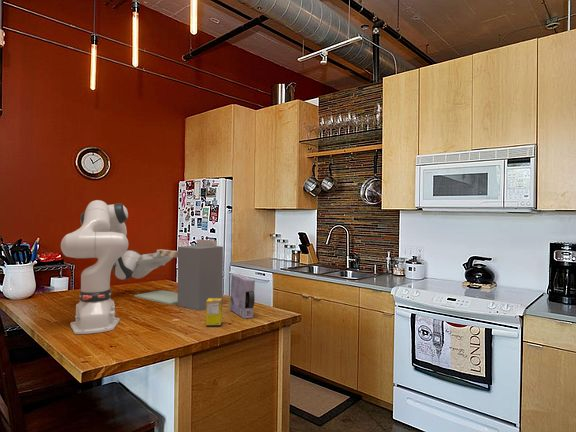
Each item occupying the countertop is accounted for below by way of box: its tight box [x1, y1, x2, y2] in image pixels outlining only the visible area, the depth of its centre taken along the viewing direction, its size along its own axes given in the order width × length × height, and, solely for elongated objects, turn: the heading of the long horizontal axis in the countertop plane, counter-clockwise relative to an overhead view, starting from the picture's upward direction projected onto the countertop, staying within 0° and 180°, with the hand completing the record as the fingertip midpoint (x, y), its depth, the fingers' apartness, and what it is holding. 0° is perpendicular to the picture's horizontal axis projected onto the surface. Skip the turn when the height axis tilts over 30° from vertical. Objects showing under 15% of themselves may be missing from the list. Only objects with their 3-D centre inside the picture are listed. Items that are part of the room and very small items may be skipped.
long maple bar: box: [156, 248, 178, 259], centre depth 214 cm, size 20×3×3 cm, turn 54°
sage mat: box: [134, 289, 178, 306], centre depth 216 cm, size 32×18×1 cm, turn 54°
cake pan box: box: [229, 273, 256, 320], centre depth 183 cm, size 19×5×18 cm, turn 30°
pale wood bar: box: [196, 239, 218, 247], centre depth 204 cm, size 12×3×3 cm, turn 54°
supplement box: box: [205, 298, 223, 328], centre depth 165 cm, size 6×6×11 cm
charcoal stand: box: [177, 244, 224, 311], centre depth 200 cm, size 16×16×30 cm
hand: (163, 251), depth 218 cm, fingers closed on long maple bar, 3 cm apart
